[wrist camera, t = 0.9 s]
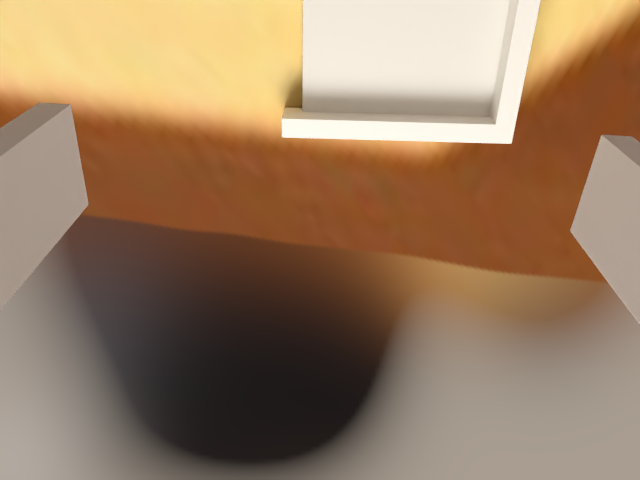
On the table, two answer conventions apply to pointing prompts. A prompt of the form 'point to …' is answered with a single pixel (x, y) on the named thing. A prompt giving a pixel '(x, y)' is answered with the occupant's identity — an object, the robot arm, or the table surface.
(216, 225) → the table surface
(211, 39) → the table surface
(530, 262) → the table surface
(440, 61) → the corral
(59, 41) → the table surface
